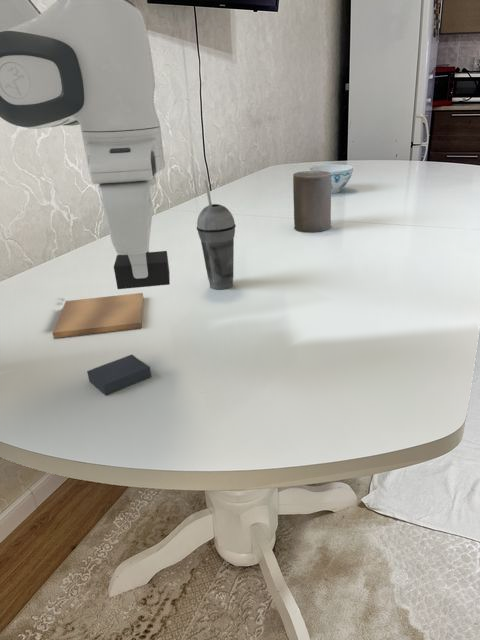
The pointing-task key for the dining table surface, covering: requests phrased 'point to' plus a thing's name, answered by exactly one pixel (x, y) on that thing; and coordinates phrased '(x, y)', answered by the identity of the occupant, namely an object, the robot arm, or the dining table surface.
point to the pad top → (119, 374)
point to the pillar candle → (312, 201)
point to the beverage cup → (217, 243)
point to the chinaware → (336, 175)
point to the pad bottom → (156, 271)
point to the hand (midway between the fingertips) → (142, 268)
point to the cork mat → (100, 315)
